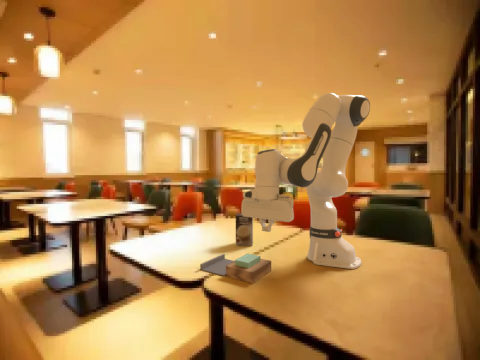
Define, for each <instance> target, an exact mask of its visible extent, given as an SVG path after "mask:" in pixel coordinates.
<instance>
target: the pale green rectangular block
mask: <svg viewBox="0 0 480 360" xmlns="http://www.w3.org/2000/svg"><path fill="white" fill-rule="evenodd" d="M260 259H261V255H257V254H252V253H246V254H244V255H242V256H240V257H238V258H236V259H235V260H234V261H235V265H237V266H241V267H245V268H250V267H251V266H253V265H255V264H256V263H258V262H260Z"/></svg>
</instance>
